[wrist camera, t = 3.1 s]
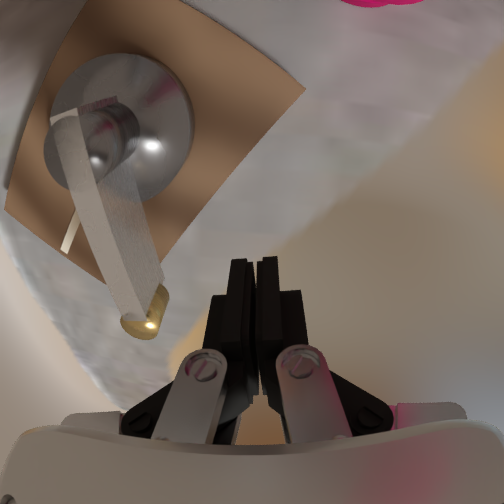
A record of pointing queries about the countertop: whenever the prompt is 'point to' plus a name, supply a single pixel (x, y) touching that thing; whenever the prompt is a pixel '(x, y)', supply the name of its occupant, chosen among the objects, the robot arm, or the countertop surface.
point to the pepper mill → (379, 2)
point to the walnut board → (203, 101)
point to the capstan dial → (121, 169)
